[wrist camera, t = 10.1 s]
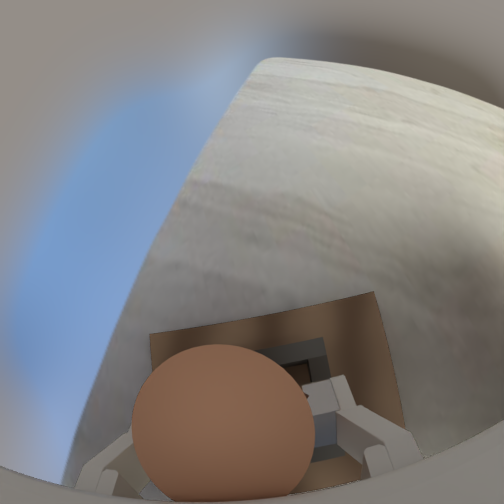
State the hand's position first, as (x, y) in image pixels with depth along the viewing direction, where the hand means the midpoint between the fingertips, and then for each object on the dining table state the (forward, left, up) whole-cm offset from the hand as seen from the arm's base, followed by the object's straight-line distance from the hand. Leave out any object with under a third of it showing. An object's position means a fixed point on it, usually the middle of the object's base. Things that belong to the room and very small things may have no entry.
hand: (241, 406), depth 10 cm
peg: (0, +1, -6) cm, 6 cm away
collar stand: (0, +1, -13) cm, 13 cm away
